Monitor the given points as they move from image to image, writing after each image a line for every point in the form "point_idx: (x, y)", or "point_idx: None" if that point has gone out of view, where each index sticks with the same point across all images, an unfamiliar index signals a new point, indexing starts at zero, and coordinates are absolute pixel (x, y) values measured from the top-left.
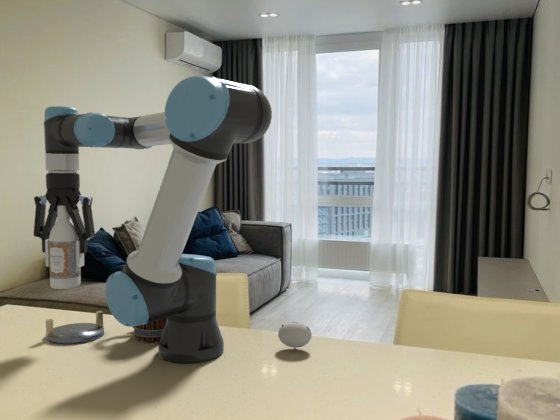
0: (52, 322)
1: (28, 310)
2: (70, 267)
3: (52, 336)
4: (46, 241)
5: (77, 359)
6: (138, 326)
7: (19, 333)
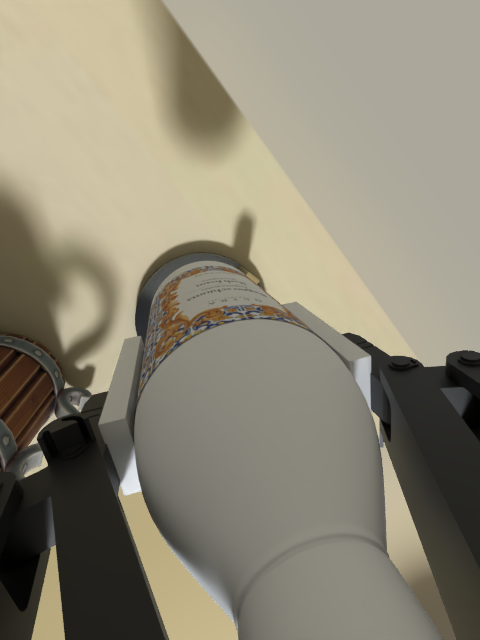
0: None
1: None
2: (155, 311)
3: None
4: (355, 354)
5: (76, 170)
6: (11, 352)
7: (332, 291)
